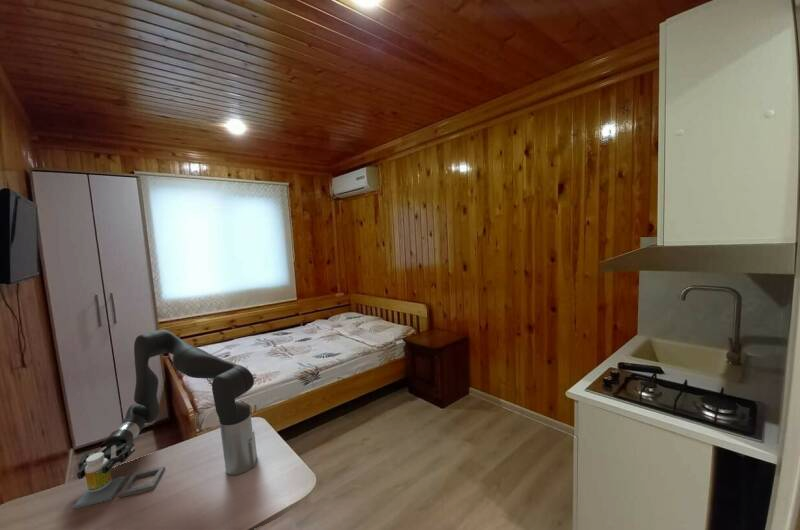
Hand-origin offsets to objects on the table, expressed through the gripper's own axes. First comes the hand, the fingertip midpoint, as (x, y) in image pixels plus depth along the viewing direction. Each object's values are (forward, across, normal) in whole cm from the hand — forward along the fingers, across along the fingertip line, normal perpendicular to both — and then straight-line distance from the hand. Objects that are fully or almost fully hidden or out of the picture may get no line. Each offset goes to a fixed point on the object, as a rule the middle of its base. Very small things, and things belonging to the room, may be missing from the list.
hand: (92, 473), depth 97 cm
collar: (-2, +11, +8) cm, 14 cm away
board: (-2, 0, +8) cm, 9 cm away
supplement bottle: (-3, 0, +6) cm, 7 cm away
